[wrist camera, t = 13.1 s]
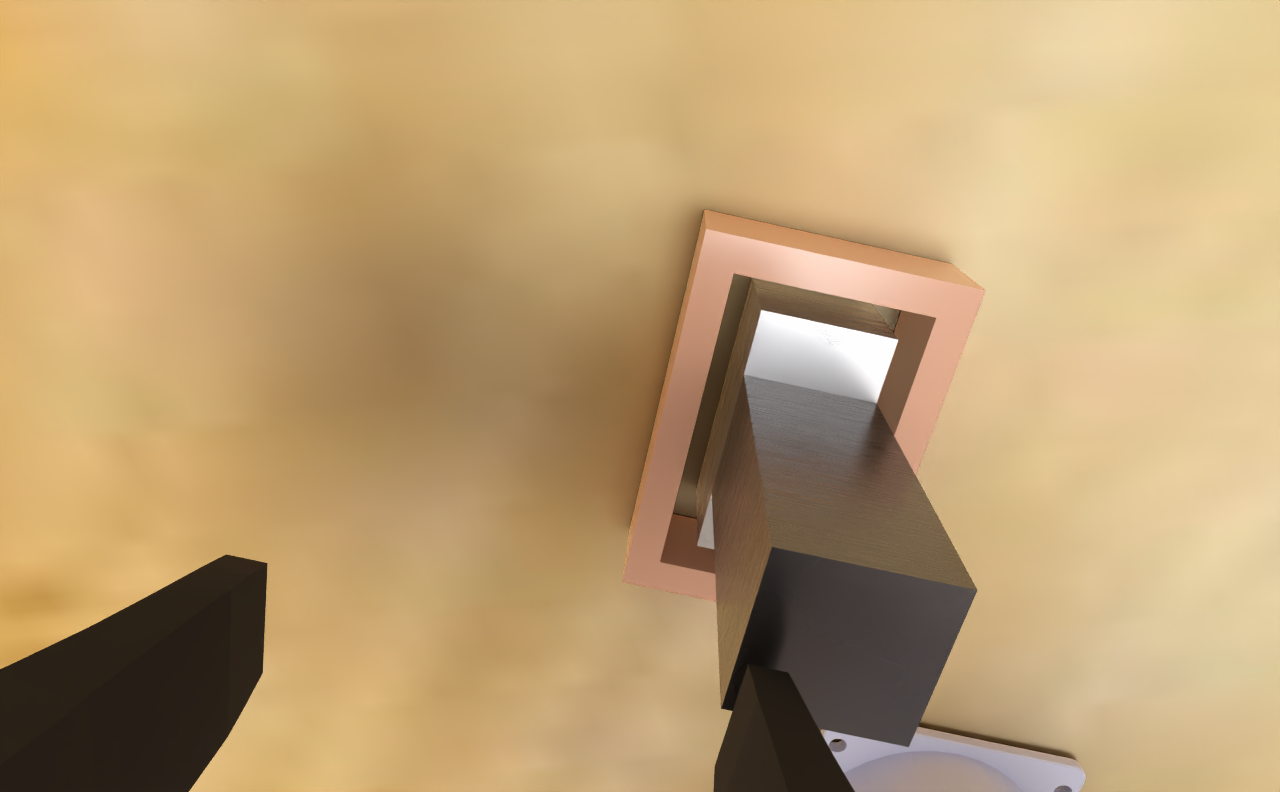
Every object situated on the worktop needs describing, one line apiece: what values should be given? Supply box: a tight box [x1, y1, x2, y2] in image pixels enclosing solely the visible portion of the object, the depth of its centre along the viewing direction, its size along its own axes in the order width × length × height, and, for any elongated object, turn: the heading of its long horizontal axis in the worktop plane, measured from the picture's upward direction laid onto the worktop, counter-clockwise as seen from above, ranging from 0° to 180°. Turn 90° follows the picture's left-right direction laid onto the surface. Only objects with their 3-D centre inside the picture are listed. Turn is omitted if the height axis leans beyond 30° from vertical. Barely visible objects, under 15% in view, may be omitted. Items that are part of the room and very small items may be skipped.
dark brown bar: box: [697, 277, 977, 747], centre depth 17 cm, size 3×6×10 cm, turn 168°
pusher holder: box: [622, 210, 986, 602], centre depth 20 cm, size 6×9×2 cm
